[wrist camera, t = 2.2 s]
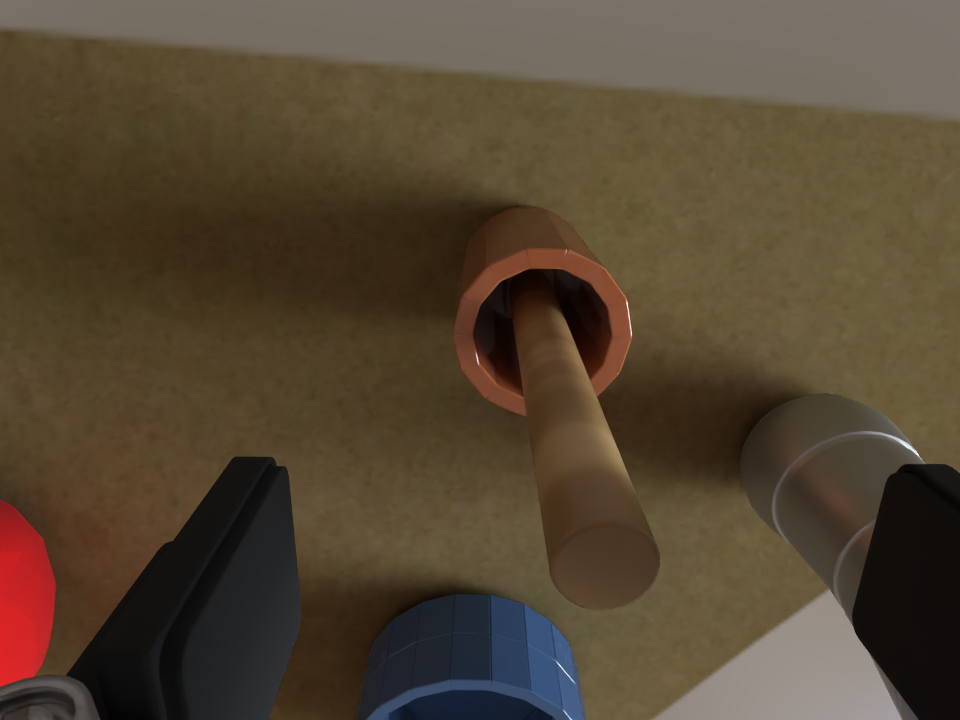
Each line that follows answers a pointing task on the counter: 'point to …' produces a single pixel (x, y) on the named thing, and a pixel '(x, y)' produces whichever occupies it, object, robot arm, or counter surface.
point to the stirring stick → (576, 460)
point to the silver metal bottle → (826, 486)
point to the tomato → (23, 597)
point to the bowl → (470, 665)
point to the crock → (578, 288)
